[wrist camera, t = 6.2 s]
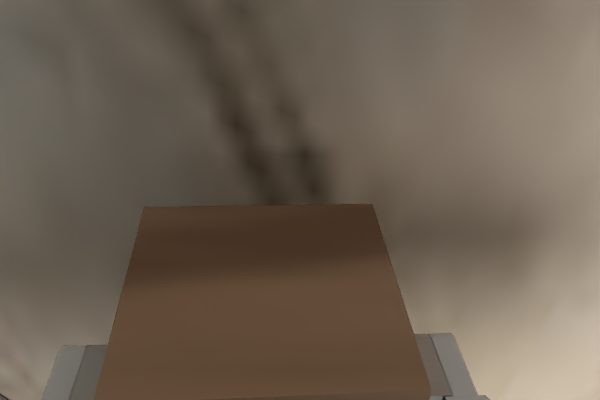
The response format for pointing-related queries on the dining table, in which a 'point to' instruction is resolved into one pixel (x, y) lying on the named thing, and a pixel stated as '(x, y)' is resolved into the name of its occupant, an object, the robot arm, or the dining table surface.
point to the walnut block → (261, 309)
